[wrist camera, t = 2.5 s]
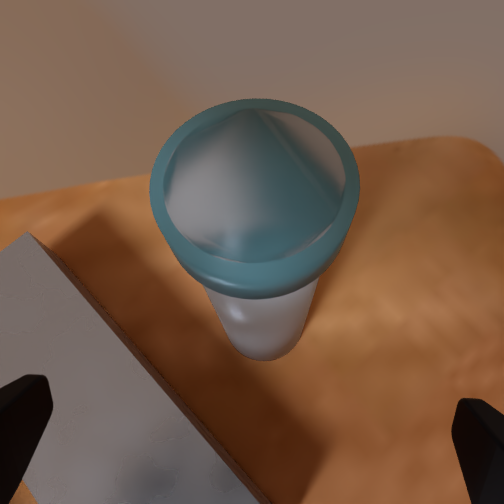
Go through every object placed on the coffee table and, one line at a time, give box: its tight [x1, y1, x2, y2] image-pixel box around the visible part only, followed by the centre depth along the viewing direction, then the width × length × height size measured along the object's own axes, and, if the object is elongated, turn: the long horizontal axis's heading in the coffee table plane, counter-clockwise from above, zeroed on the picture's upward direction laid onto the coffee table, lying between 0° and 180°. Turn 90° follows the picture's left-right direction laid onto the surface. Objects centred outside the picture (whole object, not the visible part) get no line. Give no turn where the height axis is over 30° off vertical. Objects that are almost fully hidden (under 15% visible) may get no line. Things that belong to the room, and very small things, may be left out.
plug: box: [149, 99, 360, 361], centre depth 15 cm, size 5×5×13 cm
